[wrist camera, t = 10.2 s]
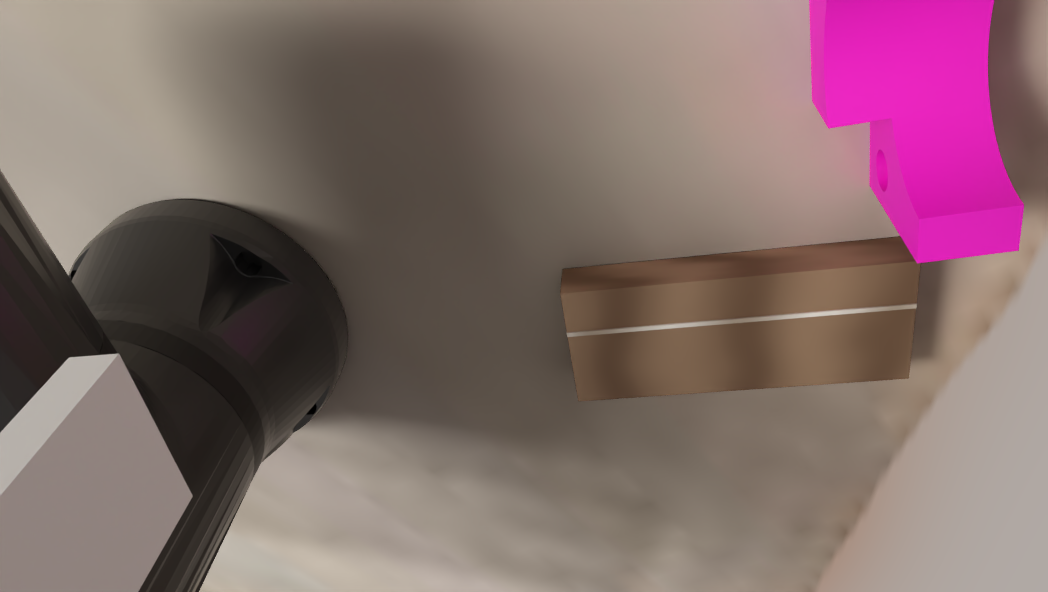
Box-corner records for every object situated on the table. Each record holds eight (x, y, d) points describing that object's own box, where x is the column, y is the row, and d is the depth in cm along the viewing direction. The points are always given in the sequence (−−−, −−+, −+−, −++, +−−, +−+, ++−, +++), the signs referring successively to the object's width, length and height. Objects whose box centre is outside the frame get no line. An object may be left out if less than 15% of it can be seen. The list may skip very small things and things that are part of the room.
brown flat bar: (579, 373, 47) (578, 402, 45) (562, 269, 43) (560, 294, 41) (895, 350, 44) (909, 379, 42) (905, 236, 40) (921, 261, 38)
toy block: (803, -154, 32) (850, -134, 26) (977, -193, 31) (1070, -182, 24) (813, 191, 40) (851, 271, 33) (952, 171, 38) (1018, 250, 32)
